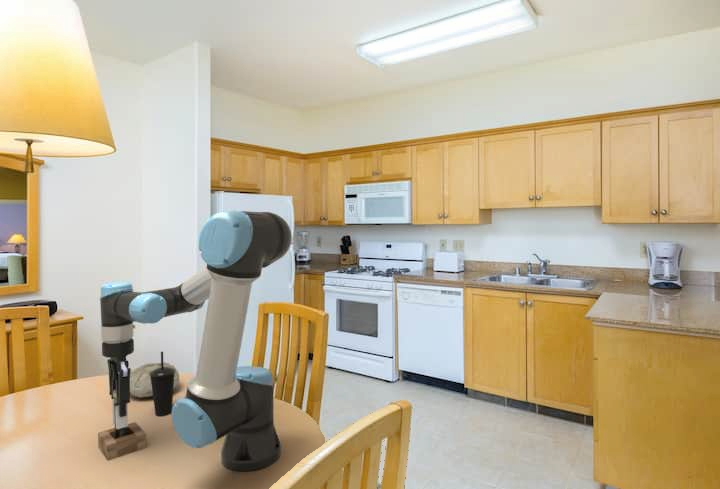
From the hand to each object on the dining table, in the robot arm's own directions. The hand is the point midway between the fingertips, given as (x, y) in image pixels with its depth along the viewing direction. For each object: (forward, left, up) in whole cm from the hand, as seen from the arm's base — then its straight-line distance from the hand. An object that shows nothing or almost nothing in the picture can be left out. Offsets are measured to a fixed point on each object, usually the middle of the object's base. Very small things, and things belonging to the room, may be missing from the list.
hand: (120, 424), depth 119 cm
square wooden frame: (0, 0, -6) cm, 6 cm away
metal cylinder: (0, 0, -4) cm, 4 cm away
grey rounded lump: (+35, -19, -7) cm, 40 cm away
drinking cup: (+15, -16, -7) cm, 23 cm away
